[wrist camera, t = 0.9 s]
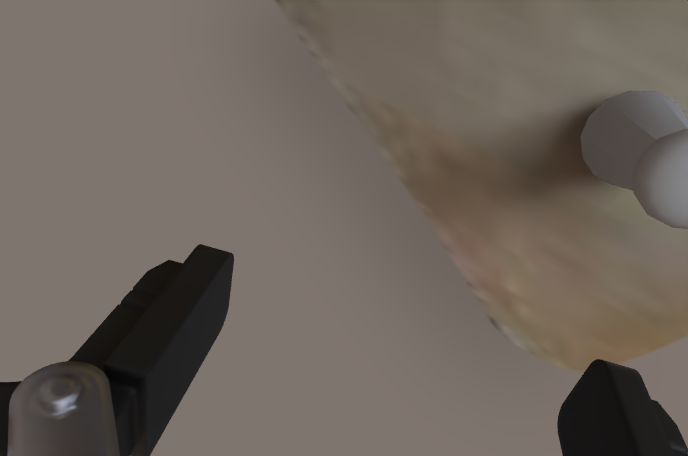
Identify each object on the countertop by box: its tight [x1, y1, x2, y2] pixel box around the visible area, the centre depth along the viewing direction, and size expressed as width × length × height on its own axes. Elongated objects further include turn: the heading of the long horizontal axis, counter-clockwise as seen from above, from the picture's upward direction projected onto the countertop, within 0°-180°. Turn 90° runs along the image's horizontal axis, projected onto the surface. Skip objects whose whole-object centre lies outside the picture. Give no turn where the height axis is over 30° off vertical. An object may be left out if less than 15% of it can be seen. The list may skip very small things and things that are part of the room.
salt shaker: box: [581, 91, 688, 229], centre depth 27 cm, size 6×6×13 cm
